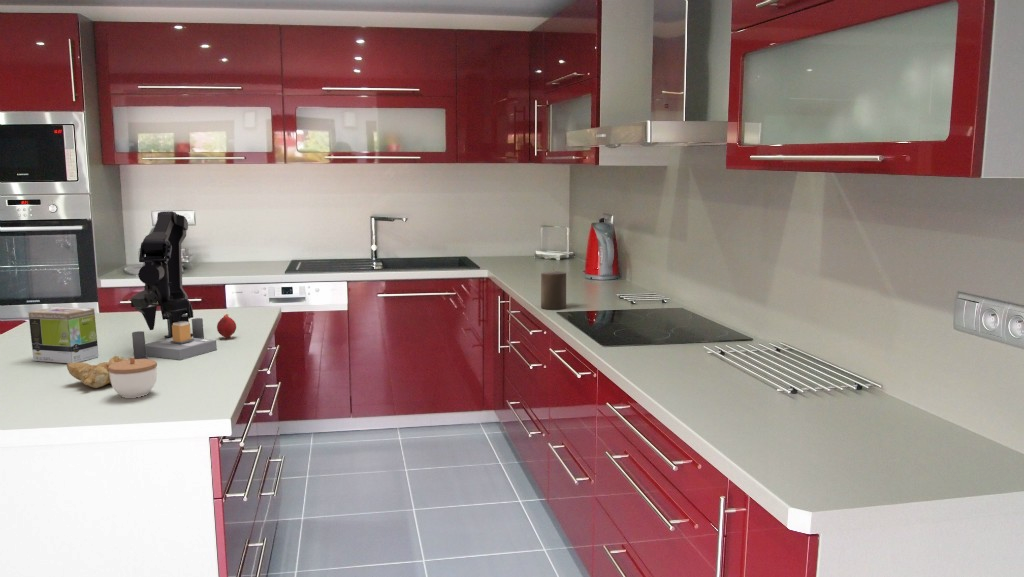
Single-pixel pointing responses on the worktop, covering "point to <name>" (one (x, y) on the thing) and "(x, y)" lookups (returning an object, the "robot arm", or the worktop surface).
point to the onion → (226, 326)
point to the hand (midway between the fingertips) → (162, 331)
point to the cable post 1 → (139, 345)
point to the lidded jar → (133, 377)
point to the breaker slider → (181, 332)
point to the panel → (179, 348)
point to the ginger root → (93, 372)
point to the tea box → (63, 334)
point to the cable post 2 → (197, 328)
